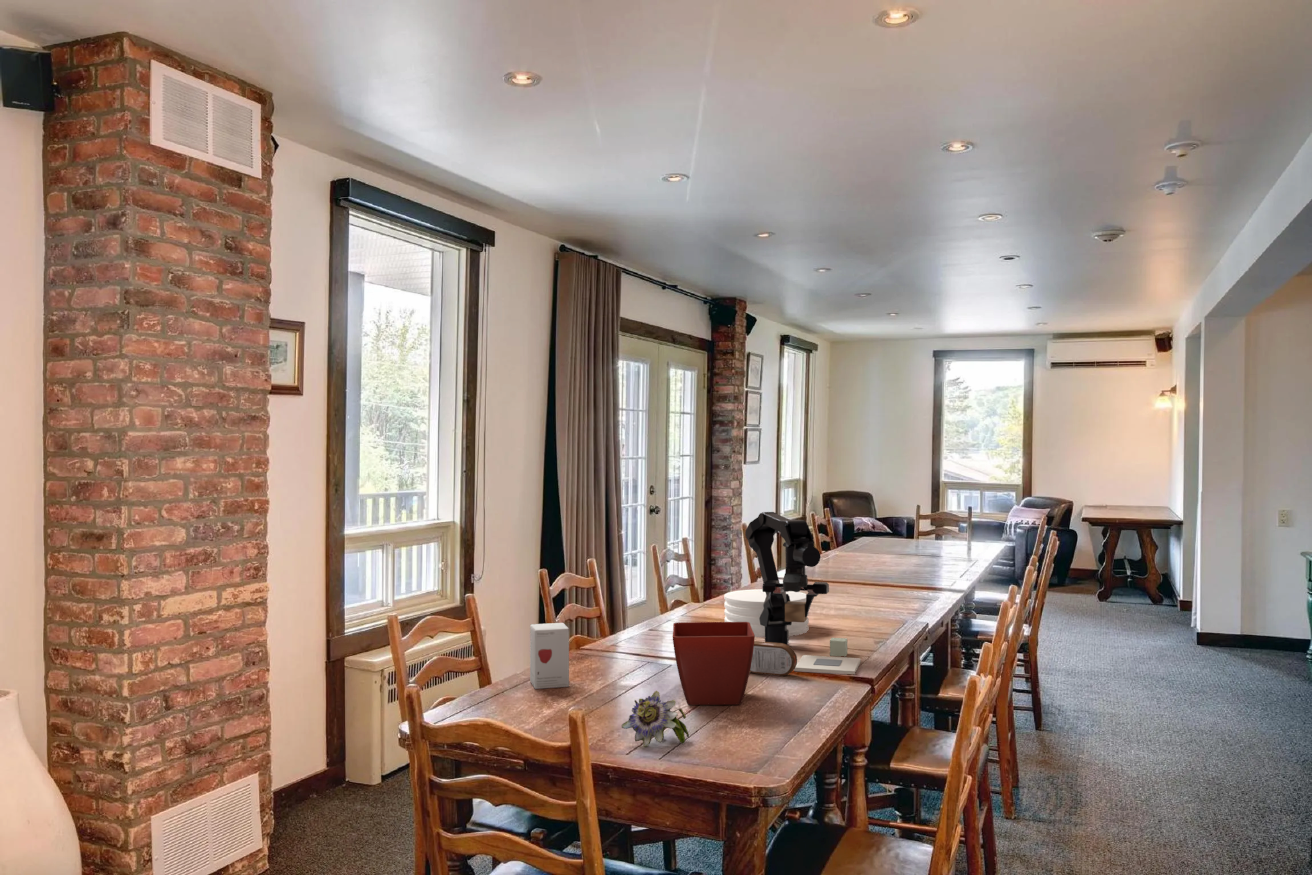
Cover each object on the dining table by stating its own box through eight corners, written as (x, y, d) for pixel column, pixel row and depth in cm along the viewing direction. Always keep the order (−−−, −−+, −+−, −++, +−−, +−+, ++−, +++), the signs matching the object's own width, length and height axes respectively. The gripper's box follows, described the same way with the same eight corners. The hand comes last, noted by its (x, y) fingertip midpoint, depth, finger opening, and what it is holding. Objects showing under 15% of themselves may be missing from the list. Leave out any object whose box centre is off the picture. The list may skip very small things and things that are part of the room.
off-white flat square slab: (794, 671, 249) (794, 666, 249) (803, 658, 264) (803, 654, 264) (854, 674, 244) (854, 670, 244) (860, 661, 260) (860, 657, 260)
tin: (797, 675, 245) (797, 643, 245) (794, 678, 242) (793, 645, 242) (743, 670, 251) (743, 639, 251) (740, 672, 248) (739, 641, 248)
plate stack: (814, 637, 296) (814, 601, 296) (727, 637, 296) (727, 602, 296) (802, 621, 324) (801, 588, 324) (722, 622, 324) (721, 589, 324)
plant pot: (674, 688, 232) (673, 621, 232) (750, 688, 231) (749, 620, 232) (673, 709, 213) (672, 636, 213) (756, 709, 212) (755, 635, 213)
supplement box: (534, 689, 232) (533, 629, 233) (529, 681, 241) (529, 623, 241) (570, 686, 235) (569, 627, 235) (564, 678, 243) (563, 621, 244)
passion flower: (647, 772, 186) (611, 725, 186) (659, 746, 197) (625, 701, 197) (690, 746, 183) (654, 697, 183) (700, 720, 194) (666, 674, 194)
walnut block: (785, 621, 268) (784, 604, 268) (788, 618, 274) (788, 601, 274) (804, 622, 267) (803, 604, 267) (806, 619, 272) (806, 602, 272)
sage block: (829, 655, 268) (829, 640, 268) (832, 652, 272) (831, 637, 272) (845, 656, 266) (845, 641, 267) (847, 653, 271) (847, 638, 271)
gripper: (758, 565, 266) (759, 619, 265) (823, 567, 260) (824, 622, 260) (765, 561, 276) (766, 613, 276) (828, 562, 270) (829, 616, 270)
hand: (796, 616), depth 270 cm, fingers closed on walnut block, 5 cm apart
